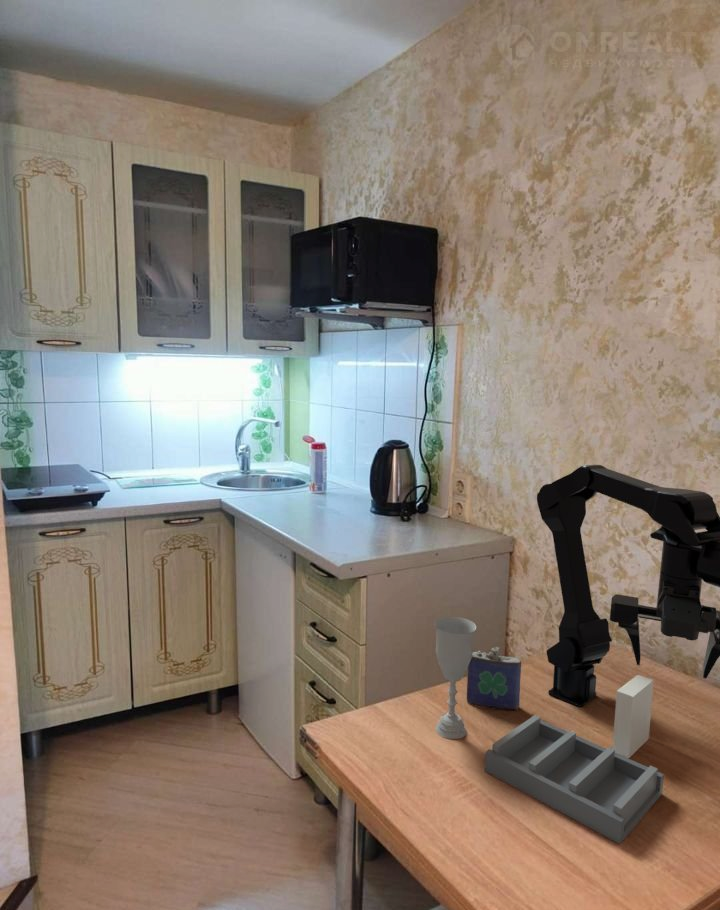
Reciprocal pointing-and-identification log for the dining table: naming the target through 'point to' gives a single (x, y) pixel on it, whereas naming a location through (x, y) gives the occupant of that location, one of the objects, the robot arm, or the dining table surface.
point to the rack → (576, 777)
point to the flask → (494, 681)
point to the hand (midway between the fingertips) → (670, 670)
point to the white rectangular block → (632, 715)
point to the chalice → (453, 666)
